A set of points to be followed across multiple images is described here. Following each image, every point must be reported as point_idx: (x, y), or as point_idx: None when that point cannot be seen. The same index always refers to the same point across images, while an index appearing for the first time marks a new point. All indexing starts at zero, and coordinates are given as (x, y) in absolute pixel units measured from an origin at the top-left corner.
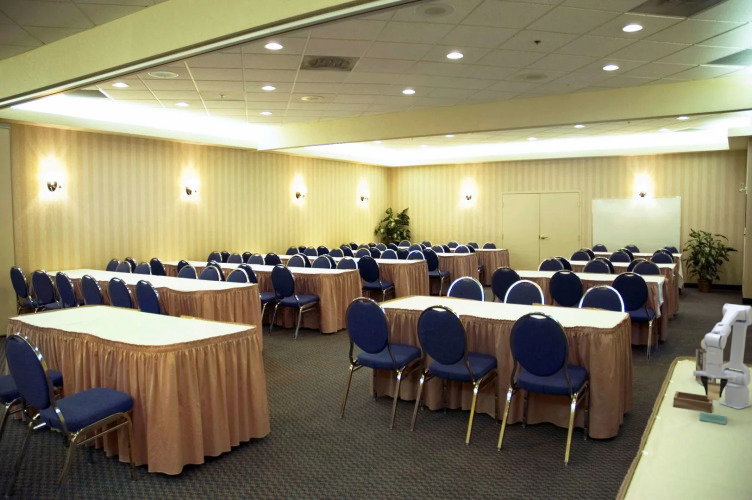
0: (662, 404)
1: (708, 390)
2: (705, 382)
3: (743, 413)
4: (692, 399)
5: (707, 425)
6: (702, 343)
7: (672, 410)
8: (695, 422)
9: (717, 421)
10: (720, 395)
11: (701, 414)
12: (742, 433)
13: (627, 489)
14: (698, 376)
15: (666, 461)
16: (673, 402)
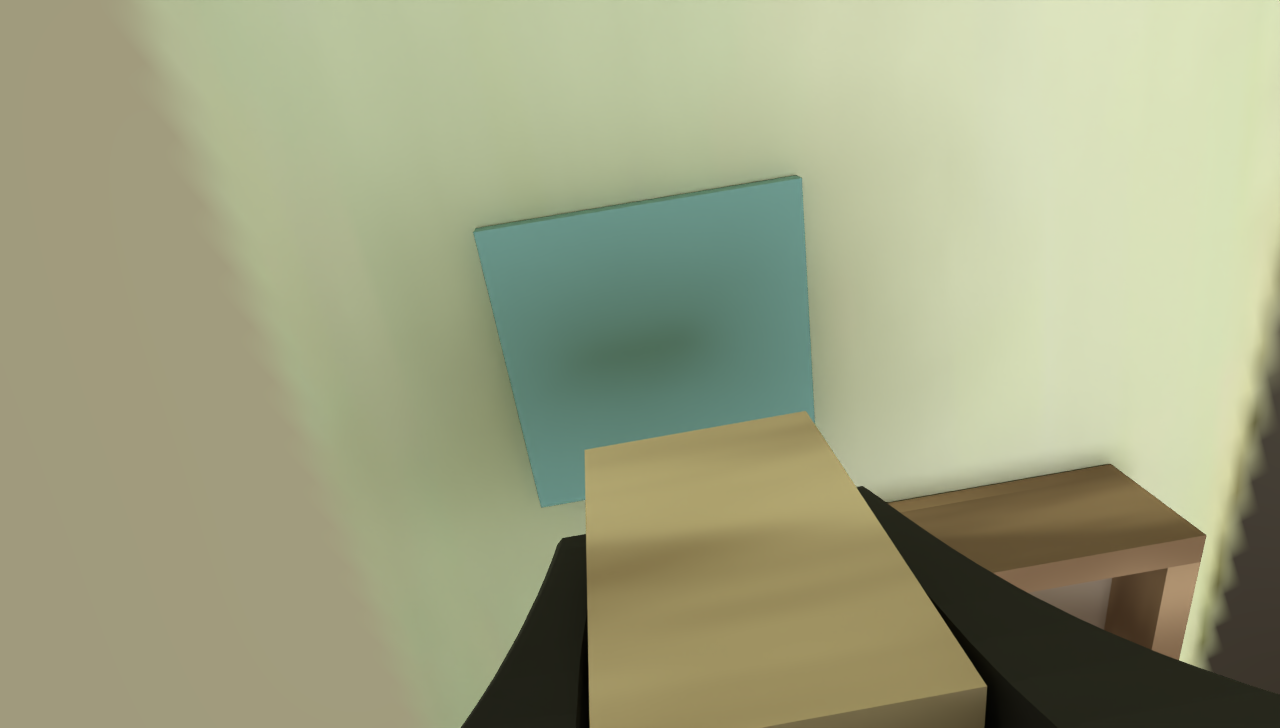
0: (1225, 461)
1: (868, 538)
2: (1132, 717)
3: (438, 717)
4: None
5: (670, 39)
6: None
7: (1124, 336)
8: (832, 56)
9: (584, 257)
10: (568, 559)
11: (801, 387)
12: (189, 27)
13: None
14: None
15: None
16: (1152, 495)
